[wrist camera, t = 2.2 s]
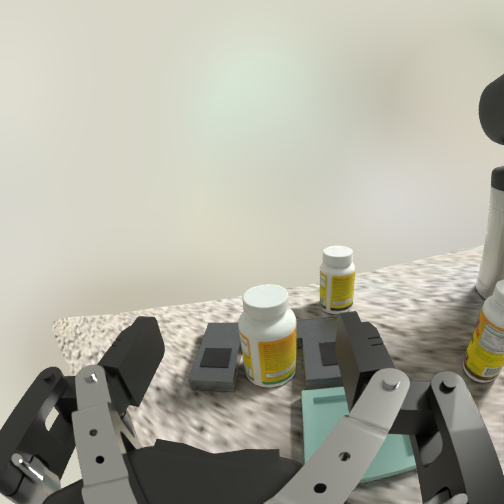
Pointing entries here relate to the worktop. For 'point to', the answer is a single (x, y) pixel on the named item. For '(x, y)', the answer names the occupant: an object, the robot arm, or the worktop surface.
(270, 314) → the supplement bottle
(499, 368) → the supplement bottle
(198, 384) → the grey notched plate
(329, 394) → the tray
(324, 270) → the supplement bottle
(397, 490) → the worktop surface
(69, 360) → the worktop surface
